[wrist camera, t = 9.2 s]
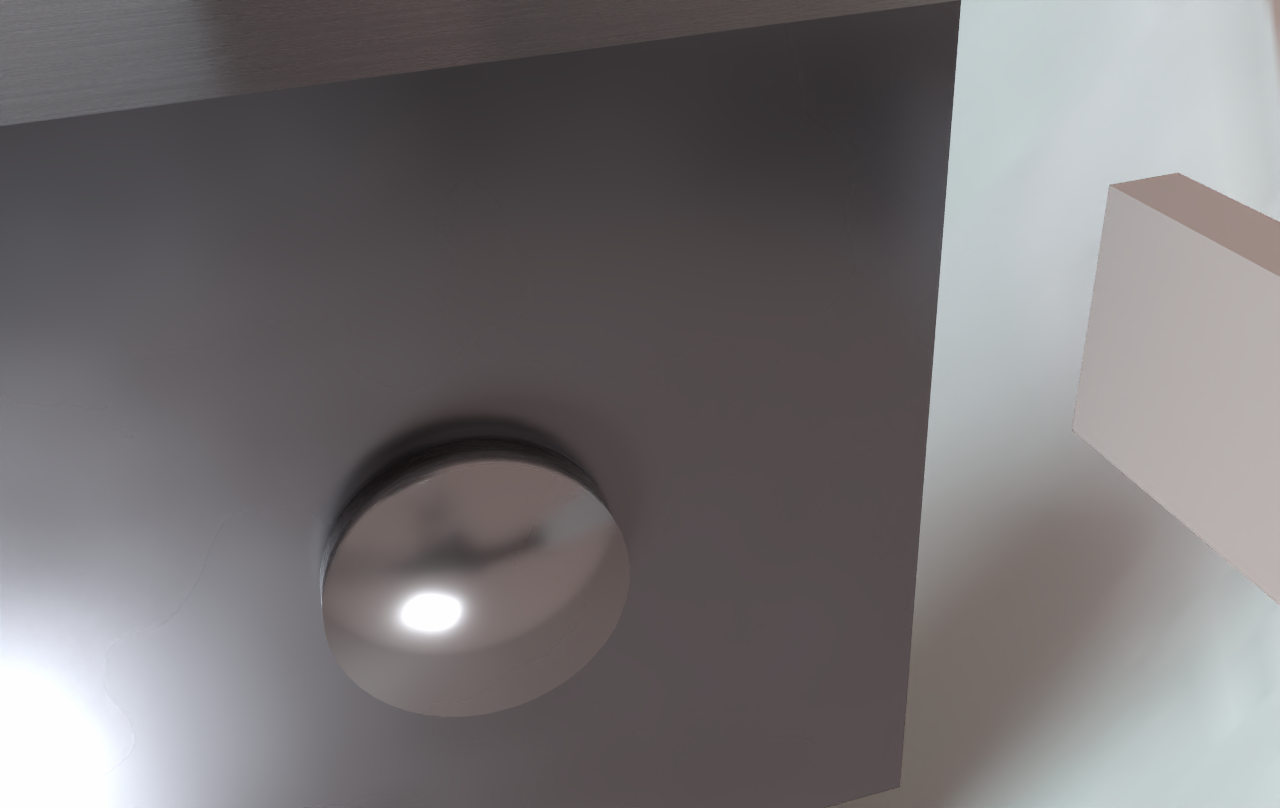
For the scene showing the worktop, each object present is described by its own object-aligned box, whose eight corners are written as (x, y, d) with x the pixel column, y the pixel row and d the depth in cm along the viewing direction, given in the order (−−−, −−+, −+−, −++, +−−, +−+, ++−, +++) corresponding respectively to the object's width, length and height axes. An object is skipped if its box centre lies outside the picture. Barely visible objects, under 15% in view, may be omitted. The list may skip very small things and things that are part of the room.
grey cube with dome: (-46, -62, 14) (-341, 190, 7) (642, -130, 15) (990, 12, 8) (144, 519, 18) (87, 1054, 11) (670, 414, 19) (917, 816, 12)
